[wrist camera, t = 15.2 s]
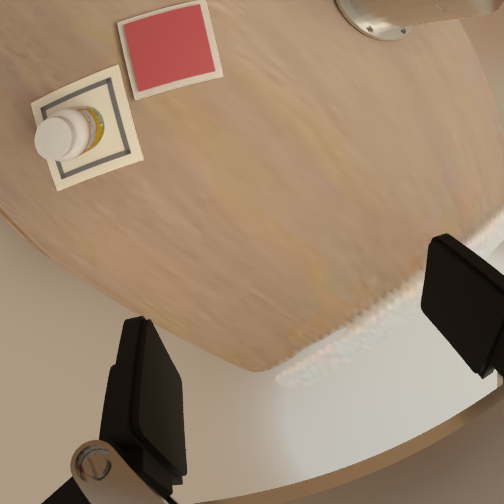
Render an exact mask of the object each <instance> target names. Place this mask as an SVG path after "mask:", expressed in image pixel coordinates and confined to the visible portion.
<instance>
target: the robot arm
mask: <svg viewBox="0 0 504 504" xmlns="http://www.w3.org/2000/svg"><path fill="white" fill-rule="evenodd" d="M503 2H504V0H336V3H337V5H338V7H339V9H340V11H341V12H342V14H343V16H344V17H345V18H346V19H347V20H348V22H349V23H350V24H351V25H352V26H354V27H355V28H356V29H357V30H359V31H360V32H361V33H363V34H365V35H367V36H369V37H371V38H374V39H377V40H382V41H393V40H397V39H401V38H403V37H405V36H406V35H407V34H409V33H410V31H411V30H412V29H413V27H414V25H418V24H423V23H429V22H436V21H443V20H451V19H459V18H468V17H479V16H485V15H489V14H491V13H493V12H495V11H496V10H497V9H498V8H499V7H500V6H501V5H502V3H503ZM367 29H368V30H367ZM421 309H422V311H423V313H424V314H425V315H426V316H427V317H428V318H429V320H430V321H431V322H432V323H433V324H434V325H435V326H436V328H437V329H438V330H439V331H440V332H441V333H442V335H443V336H444V337H445V338H446V339H447V340H448V341H449V343H450V344H451V345H452V346H453V348H454V349H455V350H456V351H457V352H458V354H459V355H460V356H461V357H462V358H463V360H464V361H465V362H466V363H467V365H468V366H469V367H470V368H471V370H472V371H473V372H474V373H478V374H479V376H480V377H481V378H482V379H484V378H485V377H487V376H488V375H490V374H491V373H493V371H494V369H496V370H497V372H498V373H497V377H498V378H497V381H498V382H497V383H498V384H497V389H496V390H494V391H493V392H491V393H490V394H488V395H487V396H485V397H484V398H482V399H481V400H479V401H478V402H476V403H475V404H473V405H472V406H470V407H469V408H467V409H465V410H464V411H462V412H460V413H459V414H457V415H455V416H454V417H452V418H450V419H449V420H447V421H445V422H443V423H441V424H440V425H438V426H436V427H434V428H432V429H430V430H429V431H427V432H425V433H423V434H421V435H419V436H417V437H415V438H413V439H411V440H409V441H407V442H405V443H403V444H401V445H398V446H396V447H394V448H392V449H390V450H387V451H385V452H383V453H381V454H378V455H376V456H374V457H371V458H368V459H366V460H363V461H361V462H359V463H356V464H353V465H351V466H348V467H345V468H342V469H339V470H337V471H334V472H331V473H328V474H325V475H322V476H318V477H315V478H312V479H309V480H305V481H302V482H298V483H295V484H291V485H287V486H283V487H279V488H275V489H271V490H266V491H262V492H258V493H253V494H248V495H244V496H238V497H233V498H227V499H222V500H215V501H208V502H202V503H196V504H504V275H503V274H501V273H500V272H499V271H498V270H496V269H495V268H494V267H493V266H491V265H490V264H489V263H487V262H486V261H485V260H484V259H482V258H481V257H480V256H478V255H477V254H476V253H474V252H473V251H472V250H470V249H469V248H467V247H466V246H465V245H463V244H462V243H461V242H459V241H458V240H456V239H455V238H454V237H452V236H451V235H449V234H442V235H439V236H436V237H434V238H432V240H431V243H430V244H429V247H428V255H427V264H426V272H425V279H424V286H423V292H422V299H421ZM70 467H71V473H72V475H73V476H72V477H71V478H70V479H69V480H68V481H67V482H65V483H64V484H63V485H62V486H61V487H60V488H59V489H58V490H57V491H55V492H54V493H53V494H52V495H51V496H50V497H49V498H47V499H46V500H45V501H44V502H43V503H42V504H180V503H179V502H177V501H176V500H175V499H174V498H173V497H172V496H171V494H172V493H173V489H172V485H181V484H183V480H182V476H185V475H186V474H187V462H186V449H185V434H184V418H183V393H182V381H181V377H180V375H179V373H178V371H177V369H176V367H175V366H174V364H173V362H172V360H171V358H170V356H169V354H168V352H167V350H166V349H165V347H164V345H163V343H162V341H161V339H160V337H159V335H158V333H157V331H156V329H155V327H154V325H153V323H152V321H151V320H150V319H148V320H146V319H145V318H144V317H143V316H140V317H135V318H131V319H126V320H125V321H124V324H123V329H122V334H121V339H120V344H119V349H118V354H117V359H116V364H115V365H113V366H112V367H111V369H110V372H109V377H108V383H107V388H106V394H105V400H104V407H103V413H102V420H101V427H100V435H99V440H92V441H88V442H86V443H84V444H82V445H81V446H80V447H79V448H78V449H77V450H76V451H75V453H74V454H73V456H72V459H71V464H70Z"/></svg>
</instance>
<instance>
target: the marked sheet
mask: <svg viewBox="0 0 504 504" xmlns="http://www.w3.org/2000/svg"><path fill="white" fill-rule="evenodd" d="M79 106H90V107H93V108H95V109H96V110H98V111H99V112H100V113H101V115H102V117H103V119H104V123H105V131H104V135H103V137H102V139H101V141H100V142H99V143H98V144H97V145H96V146H95V147H94V148H92V149H91V150H89V151H87V152H85V153H84V154H82V155H80V156H78V157H77V158H75V159H73V160H70V161H66V162H59V161H55V160H47V159H46V160H47V163H48V166H49V169H50V172H51V175H52V178H53V181H54V183H55V186H56V189H57V191H60V190H62V189H65V188H67V187H69V186H72V185H74V184H77V183H80V182H82V181H85V180H87V179H90V178H93V177H95V176H98V175H101V174H104V173H106V172H109V171H112V170H115V169H118V168H121V167H124V166H126V165H129V164H132V163H135V162H139V161H142V160H144V157H143V154H142V151H141V147H140V144H139V140H138V137H137V133H136V129H135V126H134V122H133V118H132V115H131V111H130V107H129V103H128V99H127V95H126V91H125V87H124V83H123V79H122V75H121V71H120V66H119V64H118V65H115V66H113V67H110V68H107V69H105V70H102V71H99V72H97V73H94V74H92V75H90V76H87V77H85V78H82V79H80V80H78V81H75V82H73V83H71V84H69V85H67V86H64V87H62V88H60V89H58V90H56V91H54V92H52V93H50V94H48V95H46V96H44V97H42V98H40V99H38V100H36V101H34V102H32V103H31V107H32V111H33V115H34V118H35V122H36V126H37V128H38V127H39V125H40V124H41V123H42V122H43V121H44V120H46V119H47V118H48V117H49V116H50V115H51V114H52V113H53V112H55V111H57V110H59V109H63V108H70V107H79Z"/></svg>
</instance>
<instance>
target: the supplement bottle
mask: <svg viewBox="0 0 504 504" xmlns="http://www.w3.org/2000/svg"><path fill="white" fill-rule="evenodd" d="M104 131H105V123H104V119H103V117H102V115H101V113H100V112H99V111H98V110H96V109H95V108H93V107H90V106H79V107H70V108H63V109H59V110H57V111H55V112H53V113H52V114H51V115H50V116H49V117H48V118H47V119H46V120H44V121H43V122H42V123H41V124H40V125H39V127H38V128H37V130H36V133H35V139H34V142H35V147H36V150H37V152H38V153H39V154H40V156H42V157H43V158H45V159H47V160H55V161H59V162H66V161H70V160H73V159H75V158H77V157H78V156H80V155H82V154H84V153H85V152H87V151H89V150H91V149H92V148H94V147H95V146H96V145H97V144H98V143H99V142H100V141H101V139H102V137H103V135H104Z"/></svg>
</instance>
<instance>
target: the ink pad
mask: <svg viewBox="0 0 504 504" xmlns="http://www.w3.org/2000/svg"><path fill="white" fill-rule="evenodd" d="M117 24H118V29H119V34H120V39H121V44H122V48H123V53H124V57H125V62H126V66H127V70H128V74H129V79H130V83H131V87H132V91H133V95H134V99H135V101H138V100H141V99H144V98H147V97H150V96H153V95H157V94H160V93H163V92H167V91H170V90H174V89H177V88H181V87H185V86H189V85H192V84H196V83H200V82H205V81H209V80H213V79H218V78H222V77H224V76H223V72H222V67H221V63H220V59H219V54H218V50H217V46H216V41H215V37H214V33H213V28H212V24H211V20H210V16H209V11H208V7H207V3H206V0H197V1H192V2H188V3H183V4H179V5H175V6H171V7H167V8H163V9H159V10H156V11H152V12H149V13H145V14H142V15H139V16H136V17H133V18H130V19H127V20H124V21H121V22H118V23H117Z"/></svg>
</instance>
